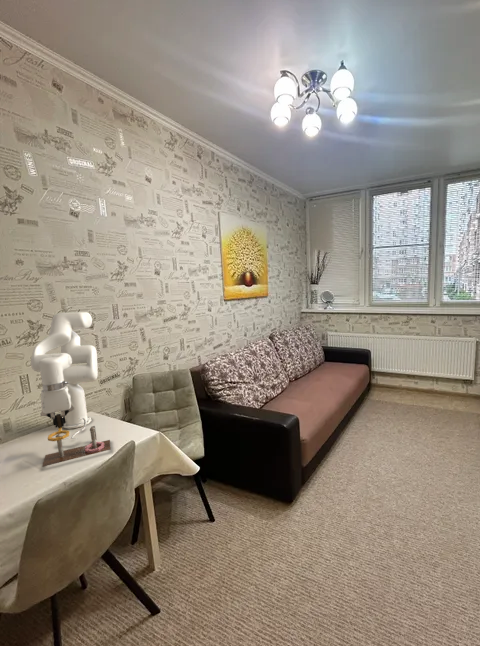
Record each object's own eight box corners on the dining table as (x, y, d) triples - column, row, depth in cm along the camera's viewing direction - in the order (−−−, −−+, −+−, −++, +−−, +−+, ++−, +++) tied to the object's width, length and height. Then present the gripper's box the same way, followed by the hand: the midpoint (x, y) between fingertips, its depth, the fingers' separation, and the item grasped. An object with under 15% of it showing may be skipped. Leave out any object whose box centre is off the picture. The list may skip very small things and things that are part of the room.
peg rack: (45, 458, 132) (41, 433, 130) (110, 442, 144) (107, 419, 142) (42, 470, 123) (38, 443, 121) (111, 452, 136) (108, 428, 134)
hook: (96, 425, 160) (76, 451, 141) (76, 426, 159) (54, 452, 140) (93, 413, 158) (72, 438, 139) (73, 414, 157) (50, 439, 138)
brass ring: (50, 430, 134) (48, 415, 133) (70, 426, 138) (68, 412, 137) (47, 442, 124) (44, 427, 123) (68, 438, 128) (66, 422, 127)
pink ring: (85, 442, 142) (83, 428, 140) (103, 438, 145) (101, 424, 144) (84, 454, 132) (82, 439, 131) (104, 449, 136) (102, 434, 134)
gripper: (76, 380, 139) (81, 418, 143) (32, 386, 131) (38, 426, 134) (75, 385, 133) (81, 424, 136) (28, 392, 125) (36, 434, 128)
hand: (60, 425), depth 135 cm, fingers closed on brass ring, 1 cm apart
